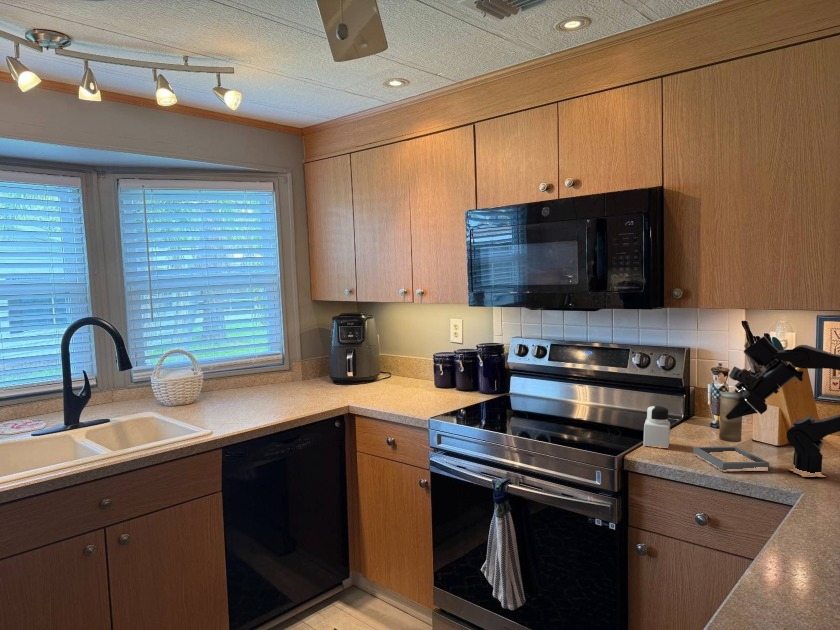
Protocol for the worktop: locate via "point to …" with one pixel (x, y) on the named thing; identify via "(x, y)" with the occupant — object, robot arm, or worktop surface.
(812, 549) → the worktop surface
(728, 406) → the translucent brown jar
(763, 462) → the tray
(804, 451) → the robot arm
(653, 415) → the medicine bottle
